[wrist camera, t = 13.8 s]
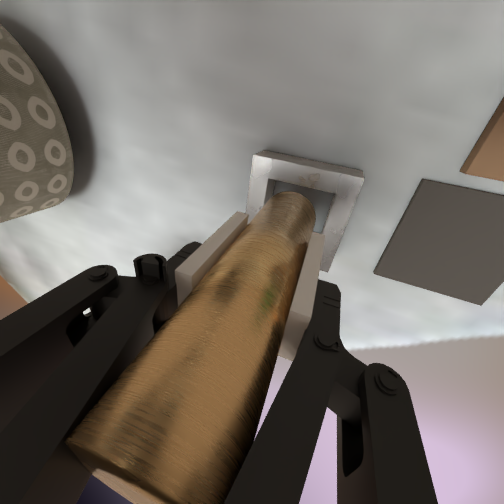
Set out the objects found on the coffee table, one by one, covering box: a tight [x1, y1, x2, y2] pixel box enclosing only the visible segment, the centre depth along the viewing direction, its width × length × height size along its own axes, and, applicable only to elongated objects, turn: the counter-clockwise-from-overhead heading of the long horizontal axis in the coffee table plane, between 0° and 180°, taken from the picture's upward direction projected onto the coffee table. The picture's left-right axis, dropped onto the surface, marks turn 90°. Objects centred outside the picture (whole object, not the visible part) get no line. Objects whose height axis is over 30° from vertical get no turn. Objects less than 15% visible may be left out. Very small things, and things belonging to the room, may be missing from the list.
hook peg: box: [65, 191, 316, 504], centre depth 12 cm, size 6×4×16 cm, turn 171°
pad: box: [374, 179, 504, 305], centre depth 19 cm, size 9×9×1 cm
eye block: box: [245, 150, 365, 272], centre depth 21 cm, size 8×8×3 cm
